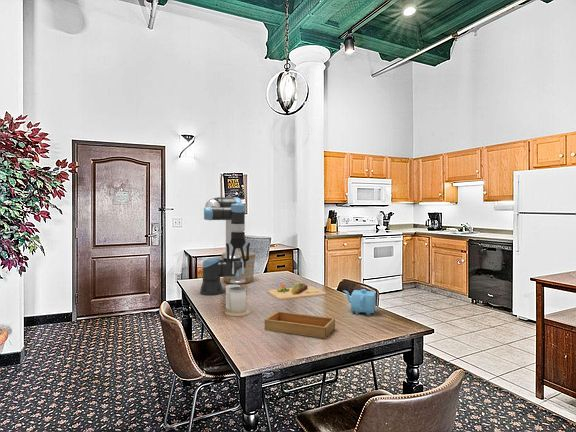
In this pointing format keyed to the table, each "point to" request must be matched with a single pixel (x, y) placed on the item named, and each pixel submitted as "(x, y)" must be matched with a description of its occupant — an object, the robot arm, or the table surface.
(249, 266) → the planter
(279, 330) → the tray
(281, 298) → the cutting board
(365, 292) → the teapot
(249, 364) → the table surface
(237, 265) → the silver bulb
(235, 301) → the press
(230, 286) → the mug
